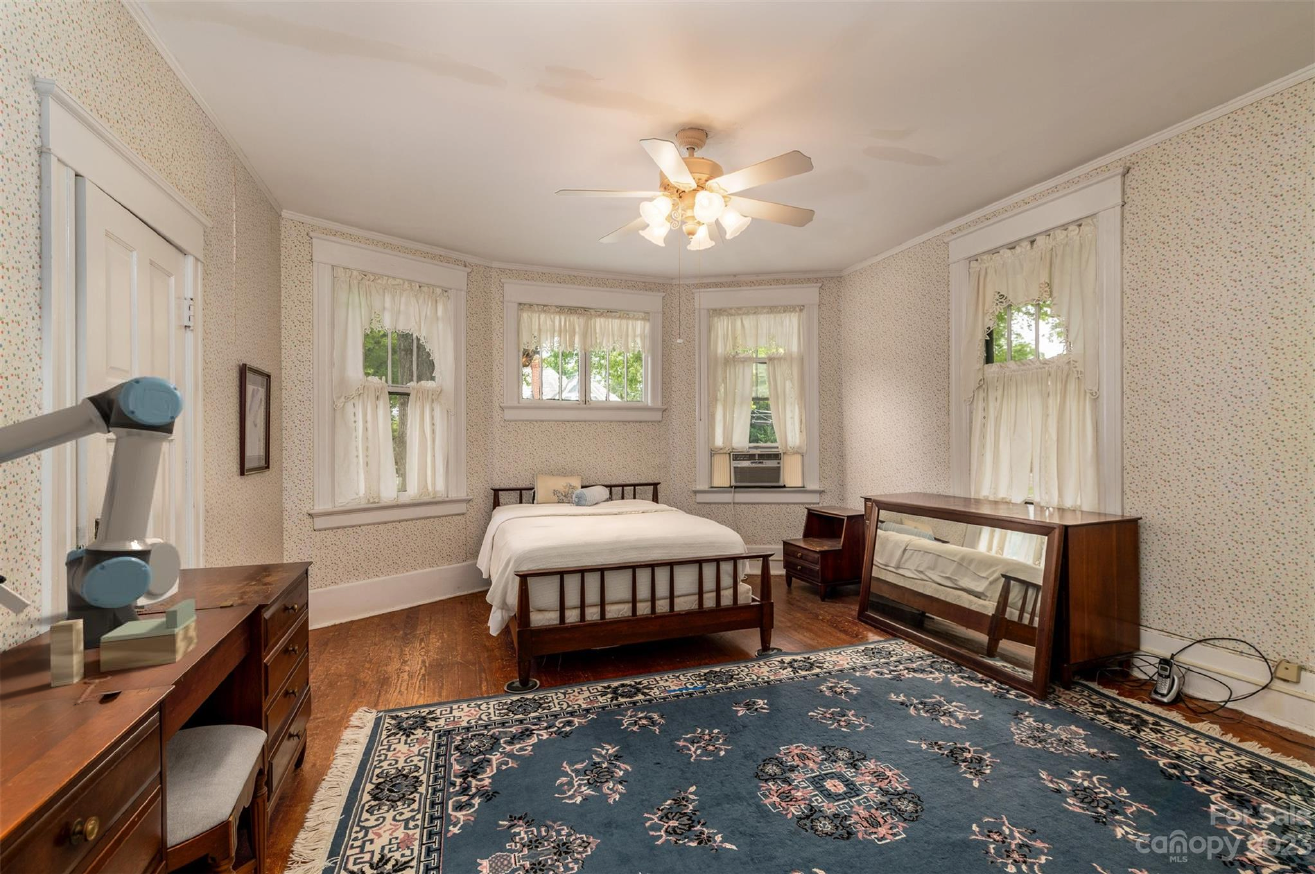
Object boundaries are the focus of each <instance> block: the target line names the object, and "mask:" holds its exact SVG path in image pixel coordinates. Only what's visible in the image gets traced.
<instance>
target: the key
mask: <svg viewBox="0 0 1315 874" xmlns="http://www.w3.org/2000/svg"><path fill="white" fill-rule="evenodd" d="M110 679H112V676H110V675H97V676H93V677H89V678H87V679H85V681H84V682H85V683H86V684H89V686H88V687H87V688H86V690H85V691H84V692H83V693H82V695H80V697H78V699H77V700H76V701H75V702H74V704H78V705H80V704H81V703H80V702H83V700H84V701H86V700H92V701H93V700H94V701H97V699H98V698H99V697H100V698H101V697H102V696H103V695H102V694H103V693H104V692H101V693H92V694H90V693H91V692H92V691H93V690H94V689H95V688H96V686H97V685H98V684H99V683H101V682H105V681H108V680H110ZM101 695H102V696H101ZM100 698H99V699H100ZM99 699H98V700H99Z"/></svg>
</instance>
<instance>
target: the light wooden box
mask: <svg viewBox="0 0 1315 874" xmlns="http://www.w3.org/2000/svg"><path fill="white" fill-rule="evenodd" d="M197 646H198V619H195V620H194V621H193V622H191V623H190V624H188V625H187V626H185V627H184V628H183V629H181V630H180V631H178V632H177V633H176V634H170V635H161V636H152V637H143V638H134V639H125V640H117V641H108V642H102V643H100V647H99V656H100V657H99V660H100V662H99V663H100V664H99V665H100V672H101V673H102V672H110V671H121V670H127V669H133V668H142V667H151V666H160V665H166V664H167V665H168V664H172V663H174V664H176V663H177V662H178V661H179V660H181V659H182V658H183V657H185V656H186V655H187V654H189V652H190V651H191V650H193V649H195V647H197Z"/></svg>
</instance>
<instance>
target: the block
mask: <svg viewBox="0 0 1315 874" xmlns="http://www.w3.org/2000/svg"><path fill="white" fill-rule="evenodd" d="M49 637H50V639H49V641H50V642H49V644H50V683H51V684H50V686H51V687H59V686H60V687H61V686H69V685H75V684H76V683H78V682H79V681H80V680H82V679H83V678H84V676H85V671H84V670H85V668H84V659H85V658H84V649H83V619H79V620H69V621H65V620H62V621H61V620H60V621H58V622H56V623H54V624H52V625H50V626H49Z"/></svg>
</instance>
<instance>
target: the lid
mask: <svg viewBox="0 0 1315 874" xmlns="http://www.w3.org/2000/svg"><path fill="white" fill-rule="evenodd" d="M194 620H197V614H196V599H195V598H189V599H183V600H182V601H180V602H179V603H176V604H174V605H173V606H172V607H169V609H167V610H166V611H165V617H163V618H151V619H141V620H140V621H131V622H127V623H126V624H124V625H122V626H120V627H119V628H117V629H115V630H113V631H111V632H110V633H108V634H106V635H104V636H103V637H101V642H108V641H117V640H125V639H134V638H143V637H152V636H161V635H170V634H176V633H177V632H178V631H180V630H181V629H183V628H184V627H185V626H187V625H188V624H190V623H191V622H193V621H194Z"/></svg>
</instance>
